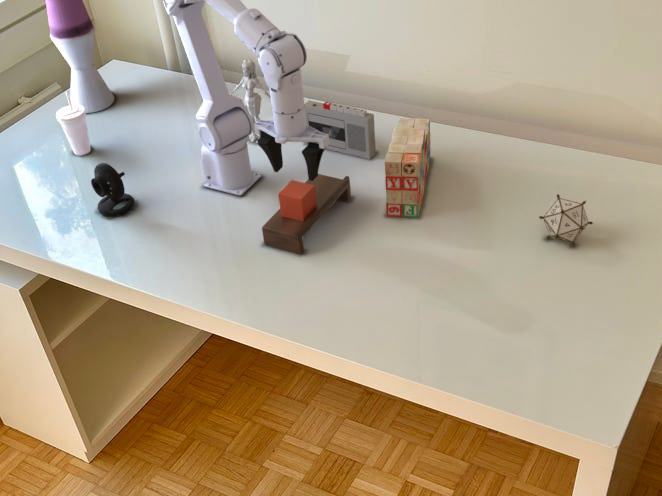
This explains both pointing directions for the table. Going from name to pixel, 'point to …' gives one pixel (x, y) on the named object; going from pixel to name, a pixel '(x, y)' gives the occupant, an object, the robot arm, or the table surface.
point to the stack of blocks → (407, 167)
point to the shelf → (292, 231)
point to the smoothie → (75, 126)
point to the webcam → (110, 191)
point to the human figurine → (251, 92)
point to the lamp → (78, 53)
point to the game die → (566, 220)
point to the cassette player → (343, 127)
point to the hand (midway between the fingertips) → (295, 173)
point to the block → (297, 200)
